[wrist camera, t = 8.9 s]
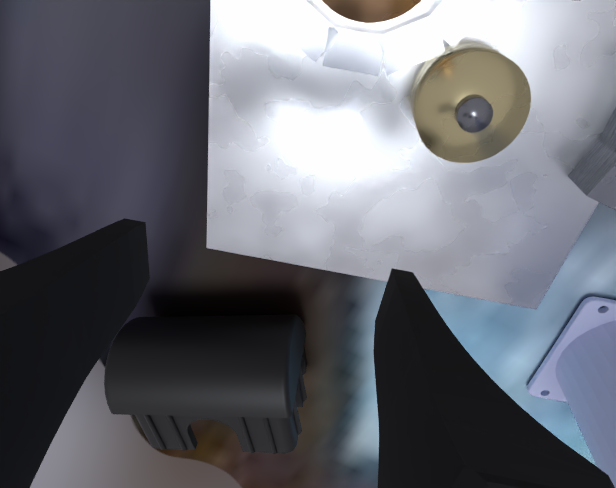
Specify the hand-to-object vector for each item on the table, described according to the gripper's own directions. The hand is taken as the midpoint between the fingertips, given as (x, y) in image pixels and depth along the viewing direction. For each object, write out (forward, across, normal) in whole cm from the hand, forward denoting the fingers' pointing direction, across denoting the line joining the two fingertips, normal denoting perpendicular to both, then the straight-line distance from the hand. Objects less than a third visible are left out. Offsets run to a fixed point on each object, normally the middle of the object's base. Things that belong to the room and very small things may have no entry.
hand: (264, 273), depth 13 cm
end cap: (+10, +3, +13) cm, 17 cm away
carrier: (+10, -4, -4) cm, 12 cm away
